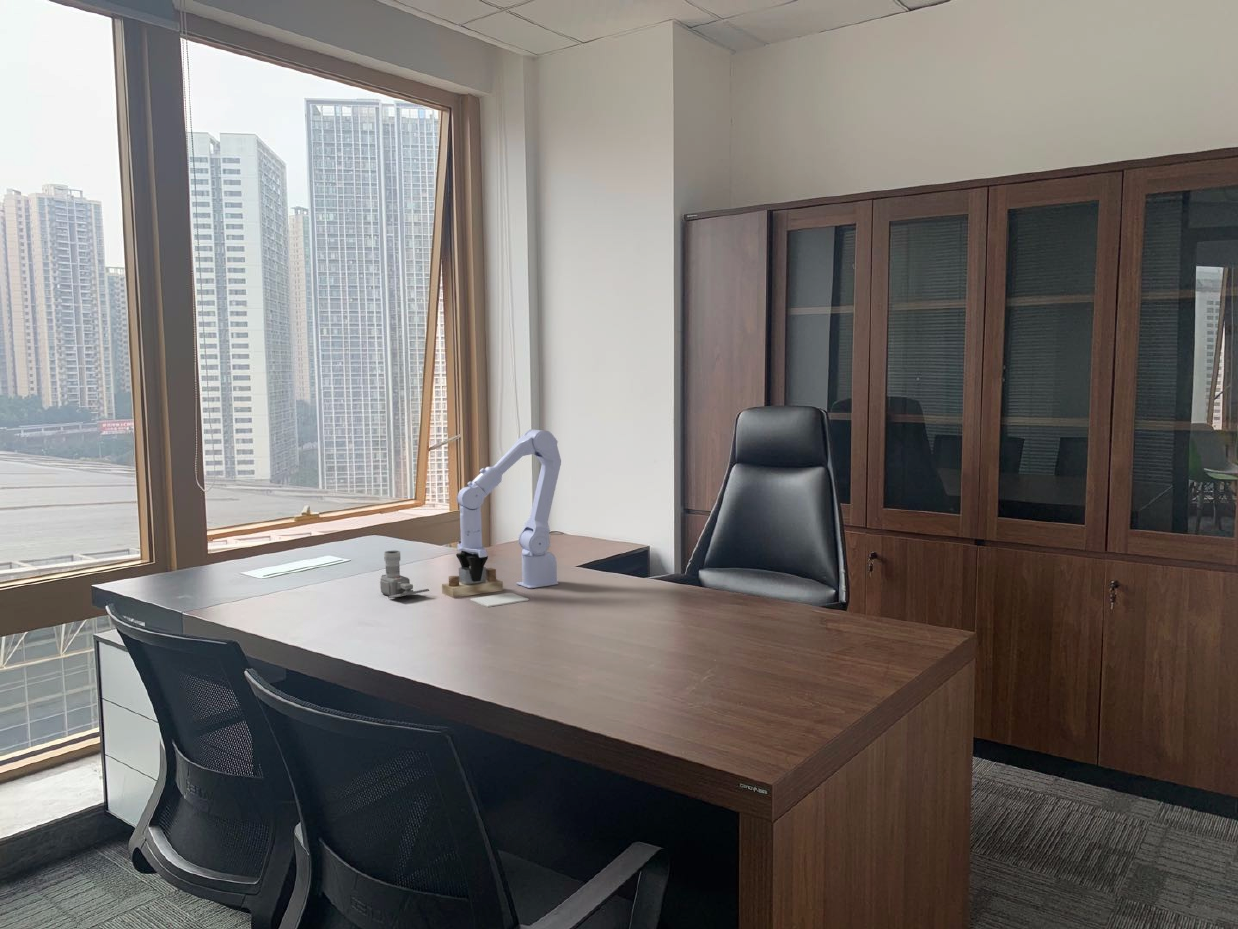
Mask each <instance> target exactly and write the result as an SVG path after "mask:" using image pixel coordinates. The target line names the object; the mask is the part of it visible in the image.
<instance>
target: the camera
mask: <svg viewBox="0 0 1238 929" xmlns="http://www.w3.org/2000/svg"><path fill="white" fill-rule="evenodd" d="M383 553H384V554H383V557H384V562H385V574H382V575H381V576H380V577H381V578H380V581H379V583H380V593H381V594H383V595H385V596H388V597H387V598H388V599H392V598H393V599H395V598H400V597H406V595H407V596H411V595H416V594H422V593H426V592H430V589H429V588H425V589H420V590H415V591H414V590H413V589H414V585H413V583H412V584H411V582H410V581H411V580H410V578H409V577H407V576H404V575H401V572H400V569H401V568H400V561H401V551H400V550H396V549H394V550H387V551H384V552H383Z"/></svg>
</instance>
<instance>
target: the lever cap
mask: <svg viewBox="0 0 1238 929" xmlns="http://www.w3.org/2000/svg"><path fill="white" fill-rule="evenodd" d="M486 568H487V567H485V566H484V568H483V572H482V577H481V581H476V582H473V580H472V576H471V569H470V566H468V567H461V566H460V567H458V576H459V582H460V583H463V584H466V585H468V584H475V583H482V582H486Z"/></svg>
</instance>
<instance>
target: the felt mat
mask: <svg viewBox="0 0 1238 929" xmlns="http://www.w3.org/2000/svg"><path fill="white" fill-rule="evenodd" d="M470 601H471V602H474V603H476V604H478V605H481V606H483V607H486V608H490V607H497V606H503V605H509V604H516V603H522V602H528V601H529V598H527V597H525V596H521V595H519V594H516V593H514V592H505V593H500V594H493V595H486V596H480V597H479V596H478V597H473V598H470Z"/></svg>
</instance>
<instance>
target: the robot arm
mask: <svg viewBox="0 0 1238 929" xmlns="http://www.w3.org/2000/svg"><path fill="white" fill-rule="evenodd" d="M558 442H559V441H558V440H557V438H556V437H555V436H554V435H553V433H552V432H551V431H549V430H545V429H543V430H541V429H540V430H539V429H536V428H535V429H534V428H532V429H529V430H527V431H526V432H525V433H524V435H522V436H520V437H519V438H518V439H517V440H516V442H515V443H514V444H513V445H512V446H511V447H510V448H509V449H508V450H507V451H506V452H505V454H504V455H503V456H502V457H501V458H500V459H499V460H498V461H497V462H496V463H495V464H494V465H493V466H486V467H485V468H484V467H483V468H481V469H480V470H479V471H478V472H479V474H478V475H477V476H476V477H475V478H474V479H473V480H472V481H468V482H467V485H468V486H464V487H462V488H461V489H460V490H459V491H458V494H457V496H456V501H457V504H458V505H459V512H460V513H459V525H460V526H459V527H460V543H457V545H456V550H457V552H458V551H459V552H460V553H459V552H458V553H456V554H455V555H456V558H457V560H458V562H459V564H460V567H468V566H470V569H471V576H472V580H473V582H476V581H481V577H482V572H483V568H484V567H485V565H486V562H487V561H488V558H489V556H488V553H487V549H486V548H485V547H484V546H483V535H482V531H483V530H482V513H481V512H482V509H481V508H482V507H481V506H482V505H483V504H484V502H485V501H484V500H485V498H487V496H489V495H490V493H491V492H493V491H494V489H495V488H497V487H498V486H499V485H500V483H502V482H503V481H502V479H503V474H505V473H506V472H507V471H509V469H510V468H511V467H512V466H513V465H515V464H516V463H517V462H518V461H519V460H521V458H523V457H524V456H525V457H526V456H529V455H534V456H535V457H536V459H537V460H538V461H539V462H540V464H541V466H540V472H539V476H538V480H537V485H536V487H535V492H534V497H533V501H532V505H531V510H530V515H529V518H528V520H527V521H526V522H525V523H524V527H523V529H522V531H521V532H520V534H519V537H518V545H519V546H520V547H521V549H522V550H521V575H522V576H521V579H522V581H517V582H516V585H519V586H521V587H525V588H527V589H533V588H535V589H536V588H541V587H547V586H548V587H549V586H553V585H559V581H558V572H557V570H558V569H557V559H556V555H555V554H554V553H553V552H552V551H551V552H550V551H549V552H548V550H549V548H550V546H551V540H550V526H549V518H550V514H551V509H552V505H553V500H554V496H555V493H556V492H555V491H556V489H557V488H556V486H557V483H558V479H559V474H560V470H561V465H562V458H561V454H560V451H559V447H558Z"/></svg>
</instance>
